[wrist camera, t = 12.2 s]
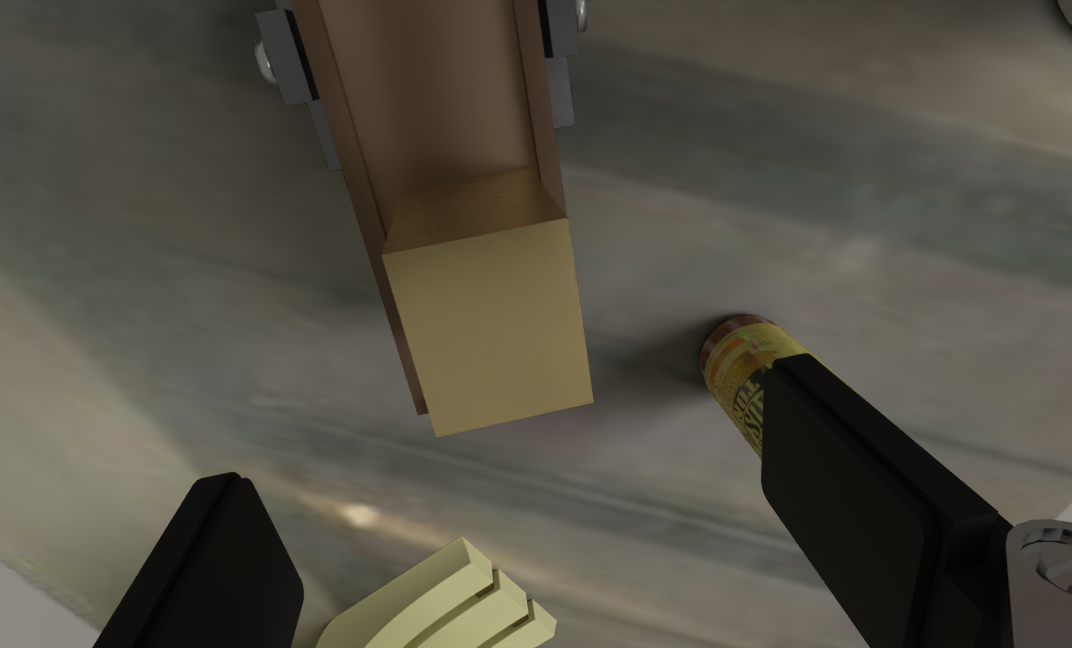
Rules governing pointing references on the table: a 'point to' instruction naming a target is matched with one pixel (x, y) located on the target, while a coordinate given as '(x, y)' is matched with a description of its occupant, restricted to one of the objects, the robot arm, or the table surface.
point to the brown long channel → (428, 105)
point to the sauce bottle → (745, 368)
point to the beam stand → (293, 75)
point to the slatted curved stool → (444, 608)
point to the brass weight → (488, 300)
